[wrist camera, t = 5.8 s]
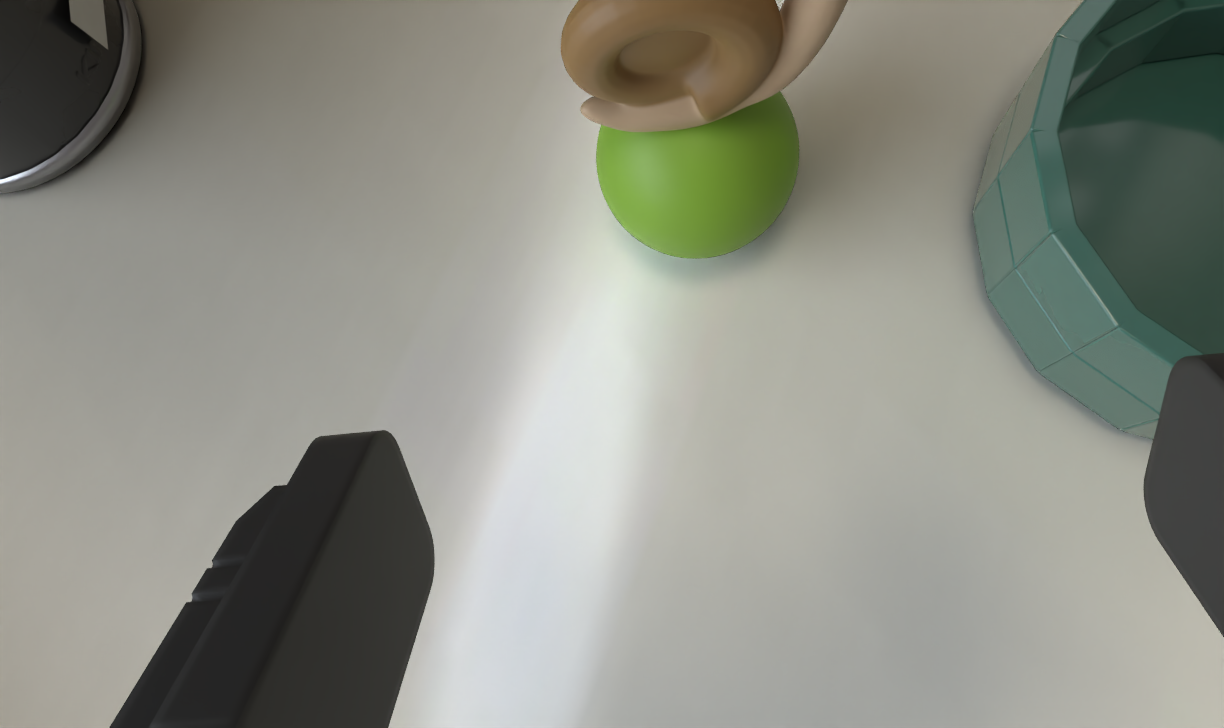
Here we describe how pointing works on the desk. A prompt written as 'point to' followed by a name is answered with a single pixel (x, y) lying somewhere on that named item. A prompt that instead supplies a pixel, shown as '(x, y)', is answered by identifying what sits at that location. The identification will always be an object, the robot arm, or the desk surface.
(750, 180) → the snail figurine
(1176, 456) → the robot arm
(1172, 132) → the bowl
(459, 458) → the desk surface
